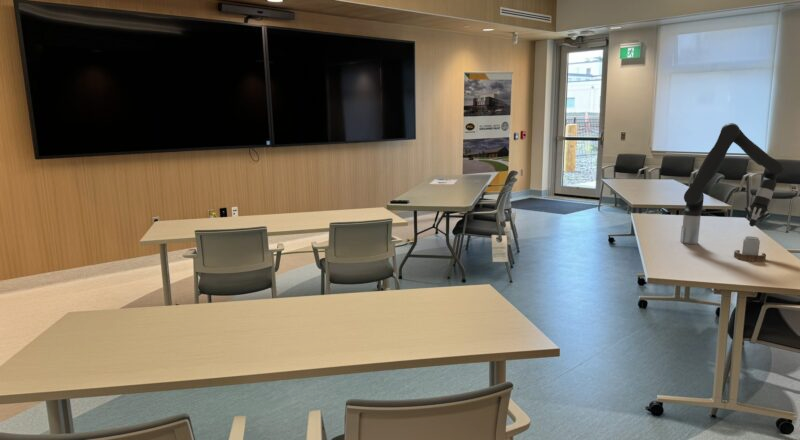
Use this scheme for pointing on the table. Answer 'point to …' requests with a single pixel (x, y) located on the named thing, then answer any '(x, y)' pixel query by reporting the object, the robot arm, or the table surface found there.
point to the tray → (749, 256)
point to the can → (751, 245)
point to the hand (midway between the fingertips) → (751, 226)
